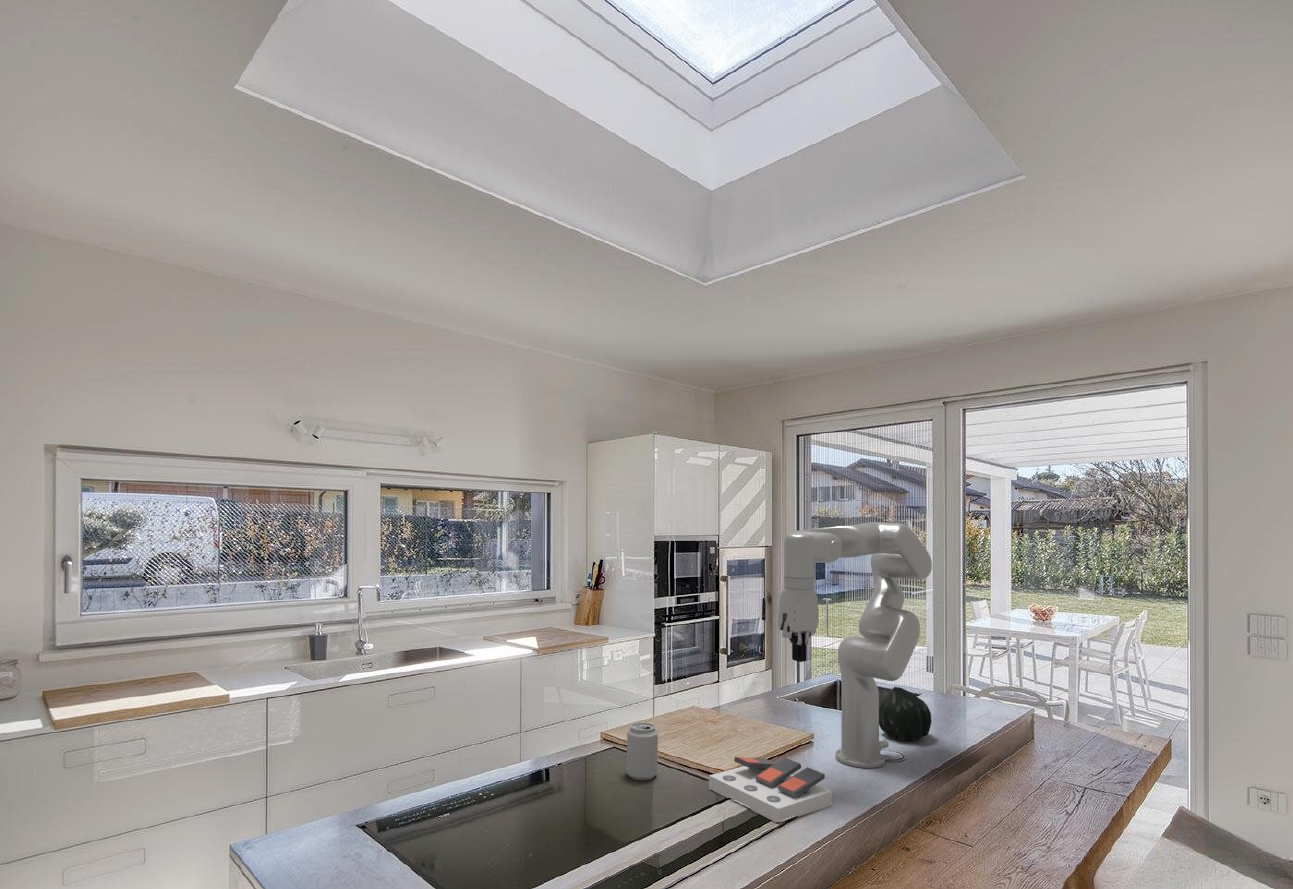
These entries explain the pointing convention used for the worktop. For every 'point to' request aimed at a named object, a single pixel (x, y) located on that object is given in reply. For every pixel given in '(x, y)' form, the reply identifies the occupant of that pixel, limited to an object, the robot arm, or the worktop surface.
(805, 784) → the rocker
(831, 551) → the robot arm
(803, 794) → the rocker switch panel
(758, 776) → the rocker middle
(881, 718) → the squash
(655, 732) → the can
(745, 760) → the rocker
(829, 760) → the worktop surface
